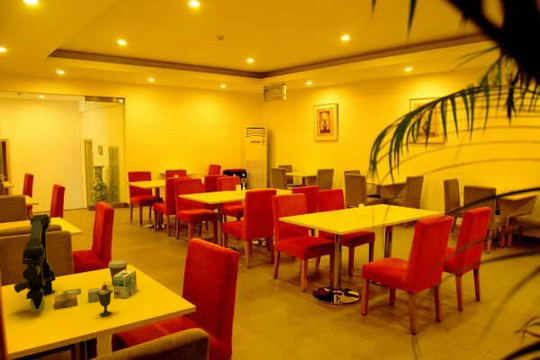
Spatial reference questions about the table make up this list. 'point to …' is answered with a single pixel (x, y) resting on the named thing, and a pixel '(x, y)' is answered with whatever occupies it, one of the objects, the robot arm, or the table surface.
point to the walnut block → (65, 300)
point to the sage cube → (39, 307)
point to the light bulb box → (124, 283)
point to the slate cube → (93, 295)
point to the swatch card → (78, 291)
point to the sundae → (105, 298)
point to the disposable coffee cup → (117, 267)
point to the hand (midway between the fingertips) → (37, 306)
